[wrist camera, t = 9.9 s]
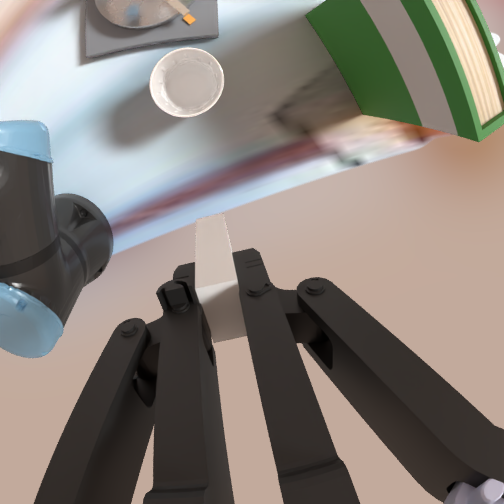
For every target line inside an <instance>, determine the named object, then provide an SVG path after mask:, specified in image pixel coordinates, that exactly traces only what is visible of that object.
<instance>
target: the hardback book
mask: <svg viewBox="0 0 504 504" xmlns="http://www.w3.org/2000/svg"><path fill="white" fill-rule="evenodd" d="M305 16H306V18H307V19H308V20H309V22H310V23H311V25H312V26H313V28H314V29H315V31H316V33H317V34H318V36H319V37H320V39H321V40H322V42H323V43H324V45H325V47H326V48H327V50H328V52H329V53H330V55H331V57H332V58H333V60H334V62H335V63H336V65H337V67H338V69H339V70H340V72H341V74H342V76H343V77H344V79H345V81H346V83H347V85H348V86H349V88H350V90H351V92H352V94H353V96H354V98H355V100H356V102H357V104H358V106H359V108H360V110H361V112H362V114H363V115H369V116H374V117H380V118H385V119H390V120H395V121H400V122H405V123H410V124H414V125H418V126H423V127H427V128H431V129H435V130H439V131H442V132H446V133H450V134H453V135H457V136H460V137H464V138H467V139H470V140H474V141H477V142H480V141H482V140H483V139H484V138H486V137H487V136H488V135H490V134H491V133H492V132H494V131H495V130H496V129H498V128H499V127H500V126H502V125H503V124H504V69H503V66H502V63H501V60H500V57H499V54H498V51H497V49H496V46H495V43H494V41H493V38H492V36H491V33H490V31H489V28H488V26H487V24H486V21H485V19H484V17H483V15H482V12H481V10H480V8H479V6H478V4H477V2H476V0H326V1H324V2H323V3H322V4H320V5H319V6H317V7H316V8H315V9H313V10H312V11H310V12H309V13H308V14H306V15H305Z"/></svg>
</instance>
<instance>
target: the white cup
mask: <svg viewBox="0 0 504 504" xmlns="http://www.w3.org/2000/svg"><path fill="white" fill-rule="evenodd" d="M223 86H224V74H223V70H222V68H221V66H220V64H219V62H218V61H217V60H216V59H215V58H214V57H213V56H212V55H211V54H209V53H208V52H206V51H204V50H201V49H197V48H181V49H177V50H174V51H172V52H170V53H168V54H166V55H165V56H164V57H162V58H161V59H160V60H159V61H158V63H157V64H156V65H155V67H154V69H153V71H152V73H151V76H150V82H149V87H150V93H151V96H152V98H153V100H154V102H155V104H156V105H157V106H158V107H159V108H160V109H161V110H162V111H164V112H166V113H167V114H170V115H172V116H176V117H193V116H197V115H200V114H202V113H204V112H206V111H207V110H209V109H210V108H211V107H212V106H213V105H214V104H215V103H216V102H217V100H218V99H219V97H220V95H221V93H222V90H223Z"/></svg>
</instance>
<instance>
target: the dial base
mask: <svg viewBox="0 0 504 504" xmlns="http://www.w3.org/2000/svg"><path fill="white" fill-rule="evenodd" d="M188 9H189V10H190V12H188V13H187V14H186V15H185V16H183V15H180V16H178V17H177V18H175V19H174V20H172V21H170V22H168V23H166V24H163V25H161V26H158V27H154V28H150V29H142V30H133V29H126V28H122V27H119V26H117V25H115V24H113V23H112V22H110V21H109V20H107V19H106V18H105V17H104V16H103V15H102V14H101V13H100V12H99V10H98V8H97V6H96V3H95V0H86V57H89V58H94V57H97V56H101V55H105V54H109V53H114V52H118V51H123V50H127V49H132V48H137V47H143V46H149V45H155V44H161V43H168V42H175V41H183V40H193V39H204V38H217V37H218V35H219V32H218V8H217V0H194V2H193V3H192V4H191V6H190V7H189V8H188Z"/></svg>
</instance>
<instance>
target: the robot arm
mask: <svg viewBox="0 0 504 504" xmlns="http://www.w3.org/2000/svg"><path fill="white" fill-rule="evenodd" d="M52 163H53V159H52V158H51V152H50V139H49V131H48V129H47V127H46V126H45V124H43V123H42V122H40V121H36V120H16V121H0V347H1V348H2V349H4V350H6V351H8V352H10V353H12V354H15V355H17V356H21V357H26V358H39V357H42V356H45V355H46V354H48V353H49V352H50V351H51V350H52V349H53V347H54V346H55V344H56V342H57V340H58V339H59V337H61V336H62V334H63V328H64V326H65V324H66V321H67V319H68V317H69V315H70V313H71V311H72V309H73V307H74V305H75V303H76V300H77V298H78V296H79V294H80V292H81V290H82V288H83V287H84V286H86V285H87V284H89V283H90V282H92V281H93V280H95V279H96V278H98V277H99V276H100V275H101V274H102V272H103V271H104V270H105V268H106V266H107V264H108V262H109V260H110V258H111V255H112V251H113V235H112V231H111V228H110V225H109V223H108V221H107V219H106V217H105V216H104V214H103V213H102V212H101V210H100V209H99V208H98V207H97V206H96V205H95V204H93V203H92V202H91V201H89V200H88V199H86V198H84V197H81V196H79V195H75V194H59V195H56V196H54V185H53V172H52ZM195 246H196V247H195V262H193V263H188V264H184V265H180V266H178V267H177V269H176V270H175V271H174V274H173V280H171V281H168V282H166V283H165V284H163V285H162V286H160V287H159V288H158V290H157V292H156V294H157V297H158V299H159V301H160V304H161V306H162V308H163V316H162V317H161V318H159V319H157V320H155V321H153V322H151V323H148V324H145V322H144V321H143V320H142V319H139V318H132V319H128V320H125V321H124V322H122V323H121V324H119V325H118V326H117V328H116V329H115V330H114V332H113V334H112V336H111V337H110V339H109V341H108V343H107V345H106V347H105V348H104V350H103V352H102V354H101V356H100V358H99V360H98V361H97V363H96V365H95V367H94V369H93V371H92V373H91V375H90V377H89V379H88V381H87V383H86V385H85V387H84V389H83V391H82V393H81V395H80V397H79V399H78V401H77V403H76V405H75V407H74V409H73V411H72V413H71V416H70V418H69V420H68V422H67V424H66V426H65V428H64V431H63V433H62V435H61V437H60V440H59V442H58V444H57V447H56V449H55V451H54V454H53V456H52V458H51V460H50V463H49V466H48V468H47V470H46V473H45V475H44V478H43V480H42V483H41V486H40V488H39V491H38V493H37V496H36V499H35V502H34V504H131V501H132V498H133V494H134V490H135V487H136V483H137V480H138V476H139V473H140V469H141V466H142V462H143V459H144V456H145V452H146V449H147V446H148V442H149V439H150V436H151V432H152V429H153V426H154V457H153V488H152V490H150V491H149V492H147V493H146V494H145V497H144V499H143V504H234V497H233V491H232V485H231V478H230V471H229V464H228V458H227V450H226V443H225V435H224V427H223V420H222V412H221V403H220V394H219V385H218V376H217V366H216V356H215V351H214V348H213V345H212V339H213V342H214V343H216V342H220V341H225V340H230V339H234V338H239V337H243V336H247V337H248V342H249V346H250V351H251V355H252V360H253V365H254V370H255V374H256V379H257V384H258V388H259V393H260V397H261V402H262V407H263V411H264V415H265V420H266V424H267V429H268V433H269V438H270V442H271V446H272V451H273V455H274V459H275V464H276V468H277V472H278V480H279V485H280V489H281V493H282V498H283V502H284V504H360V502H359V499H358V496H357V494H356V491H355V488H354V486H353V483H352V480H351V477H350V475H349V472H348V470H347V468H346V466H345V464H344V462H343V461H342V460H341V459H340V458H339V457H338V455H337V453H336V450H335V447H334V445H333V442H332V439H331V436H330V434H329V431H328V428H327V425H326V423H325V420H324V417H323V415H322V412H321V409H320V407H319V404H318V401H317V399H316V396H315V393H314V391H313V387H312V385H311V382H310V379H309V377H308V374H307V371H306V369H305V366H304V363H303V360H302V358H301V355H300V353H299V350H298V347H297V344H296V343H302V344H303V346H304V348H305V349H306V350H307V351H308V353H309V354H310V355H311V356H312V358H313V359H314V360H315V361H316V363H317V364H318V365H319V366H320V367H321V369H322V370H323V371H324V372H325V374H326V375H327V376H328V377H329V378H330V380H331V381H332V382H333V383H334V384H335V386H336V387H337V388H338V389H339V390H340V392H341V393H342V394H343V395H344V397H345V398H346V399H347V400H348V401H349V402H350V404H351V405H352V406H353V407H354V409H355V410H356V411H357V412H358V413H359V414H360V416H361V417H362V418H363V419H364V420H365V422H366V423H367V424H368V425H369V426H370V428H371V429H372V430H373V431H374V432H375V433H376V435H377V436H378V437H379V438H380V439H381V441H382V442H383V443H384V444H385V445H386V446H387V448H388V449H389V450H390V451H391V452H392V453H393V455H394V456H395V457H396V458H397V459H398V460H399V462H400V463H401V464H402V465H403V466H404V467H405V469H406V470H407V471H408V472H409V473H410V474H411V475H412V477H413V478H414V479H415V480H416V481H417V482H418V483H419V484H420V485H421V486H422V487H423V488H424V489H425V490H426V491H427V492H428V493H430V494H431V495H432V496H434V497H435V498H436V499H438V500H440V501H441V502H443V504H504V429H502V428H499V427H497V426H494V425H493V424H492V423H491V422H490V421H489V420H488V419H487V418H486V417H485V416H484V415H483V414H482V413H481V412H479V411H478V410H477V409H476V408H475V407H474V406H473V405H472V404H471V403H469V401H467V400H466V399H465V398H464V397H463V396H462V395H461V394H460V393H459V392H458V391H456V390H455V389H454V388H453V387H452V386H451V385H450V384H449V383H448V382H446V381H445V380H444V379H443V378H442V377H441V376H440V375H439V374H438V373H436V372H435V371H434V370H433V369H432V368H431V367H430V366H429V365H427V364H426V363H425V362H424V361H423V360H422V359H421V358H420V357H418V356H417V355H416V354H415V353H414V352H413V351H412V350H410V349H409V348H408V347H407V346H406V345H405V344H404V343H402V342H401V341H400V340H399V339H398V338H397V337H396V336H394V335H393V334H392V333H391V332H390V331H389V330H387V329H386V328H385V327H384V326H382V325H381V324H380V323H379V322H378V321H377V320H376V319H374V318H373V317H372V316H371V315H370V314H368V312H366V311H365V310H364V309H363V308H362V307H361V306H359V305H358V304H357V303H356V302H355V301H353V300H352V299H351V298H350V297H349V296H347V295H346V294H345V293H344V292H343V291H342V290H340V289H339V288H338V287H337V286H335V285H334V284H333V283H332V282H331V281H329V280H327V279H325V278H320V277H315V278H309V279H305V280H304V281H302V282H300V284H299V285H298V286H297V290H283V289H279V288H276V287H275V286H274V285H273V284H272V283H271V282H270V279H269V277H268V274H267V271H266V269H265V266H264V263H263V261H262V258H261V255H260V252H258V251H257V250H255V249H254V248H251V249H247V250H242V251H238V252H234V253H232V249H231V244H230V240H229V236H228V231H227V227H226V222H225V218H224V213H221V214H216V215H212V216H207V217H203V218H199V219H196V245H195ZM211 336H212V339H211Z"/></svg>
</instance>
